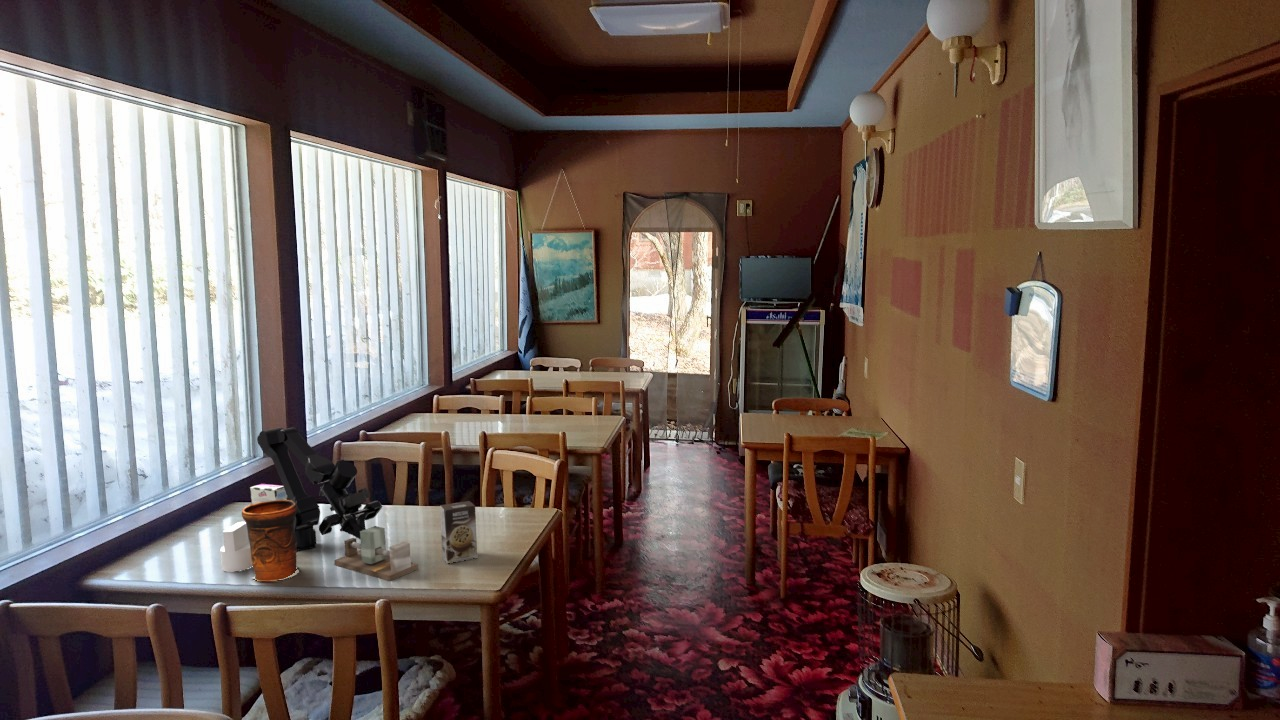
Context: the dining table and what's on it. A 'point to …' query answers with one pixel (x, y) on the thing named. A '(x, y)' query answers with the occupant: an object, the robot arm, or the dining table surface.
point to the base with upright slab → (236, 548)
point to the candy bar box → (267, 493)
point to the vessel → (272, 538)
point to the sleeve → (372, 544)
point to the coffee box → (458, 531)
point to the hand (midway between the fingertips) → (365, 540)
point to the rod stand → (384, 569)
